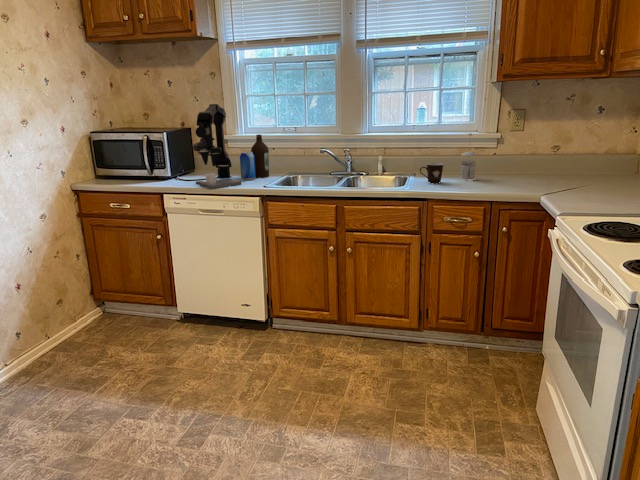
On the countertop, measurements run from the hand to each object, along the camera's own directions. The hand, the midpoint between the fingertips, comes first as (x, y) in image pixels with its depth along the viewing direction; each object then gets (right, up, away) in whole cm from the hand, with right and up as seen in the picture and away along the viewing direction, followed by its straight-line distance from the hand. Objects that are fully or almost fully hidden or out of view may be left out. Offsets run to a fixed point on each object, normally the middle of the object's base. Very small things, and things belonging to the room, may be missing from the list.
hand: (209, 165), depth 262 cm
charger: (0, -10, +3) cm, 11 cm away
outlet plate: (+5, -10, +4) cm, 12 cm away
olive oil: (+25, -2, +29) cm, 38 cm away
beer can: (+18, -5, +20) cm, 28 cm away
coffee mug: (+120, -10, -4) cm, 121 cm away
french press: (+141, -8, +2) cm, 142 cm away
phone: (-7, -9, +10) cm, 15 cm away
